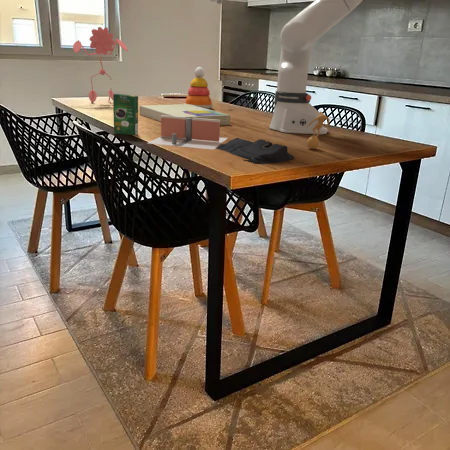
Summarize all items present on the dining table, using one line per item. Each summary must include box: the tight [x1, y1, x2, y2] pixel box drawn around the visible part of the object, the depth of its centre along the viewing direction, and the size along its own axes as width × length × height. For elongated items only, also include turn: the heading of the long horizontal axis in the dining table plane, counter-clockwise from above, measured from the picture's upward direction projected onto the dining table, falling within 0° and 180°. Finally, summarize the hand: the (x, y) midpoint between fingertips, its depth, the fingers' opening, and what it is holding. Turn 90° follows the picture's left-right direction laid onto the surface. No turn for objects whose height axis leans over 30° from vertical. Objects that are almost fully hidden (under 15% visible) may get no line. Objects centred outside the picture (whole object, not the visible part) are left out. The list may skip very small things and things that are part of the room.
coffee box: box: [112, 93, 139, 136], centre depth 151 cm, size 8×3×13 cm, turn 75°
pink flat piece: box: [160, 115, 192, 140], centre depth 148 cm, size 10×2×7 cm, turn 77°
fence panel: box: [192, 118, 221, 142], centre depth 146 cm, size 9×1×7 cm, turn 77°
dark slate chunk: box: [215, 137, 295, 165], centre depth 134 cm, size 15×22×5 cm
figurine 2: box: [306, 111, 330, 150], centre depth 143 cm, size 8×6×12 cm
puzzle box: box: [139, 103, 231, 126], centre depth 191 cm, size 36×5×24 cm
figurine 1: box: [72, 26, 129, 107], centre depth 220 cm, size 15×26×35 cm, turn 125°
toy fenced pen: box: [147, 134, 229, 151], centre depth 147 cm, size 21×20×4 cm
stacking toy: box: [183, 66, 214, 109], centre depth 224 cm, size 14×14×20 cm
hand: (216, 2), depth 166 cm, fingers open, 8 cm apart
